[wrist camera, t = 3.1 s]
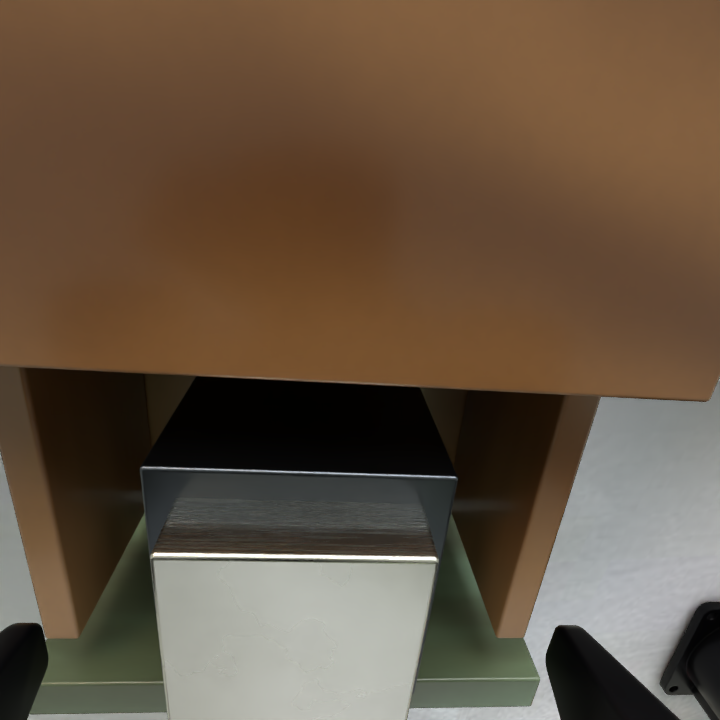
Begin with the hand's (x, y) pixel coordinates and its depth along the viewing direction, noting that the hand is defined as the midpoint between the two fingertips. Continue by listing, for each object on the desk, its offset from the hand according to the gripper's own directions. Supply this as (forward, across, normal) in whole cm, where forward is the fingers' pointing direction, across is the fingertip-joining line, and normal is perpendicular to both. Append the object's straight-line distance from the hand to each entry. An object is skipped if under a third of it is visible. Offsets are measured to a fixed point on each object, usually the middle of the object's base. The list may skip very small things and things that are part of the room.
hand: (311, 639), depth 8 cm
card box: (+8, 0, 0) cm, 8 cm away
